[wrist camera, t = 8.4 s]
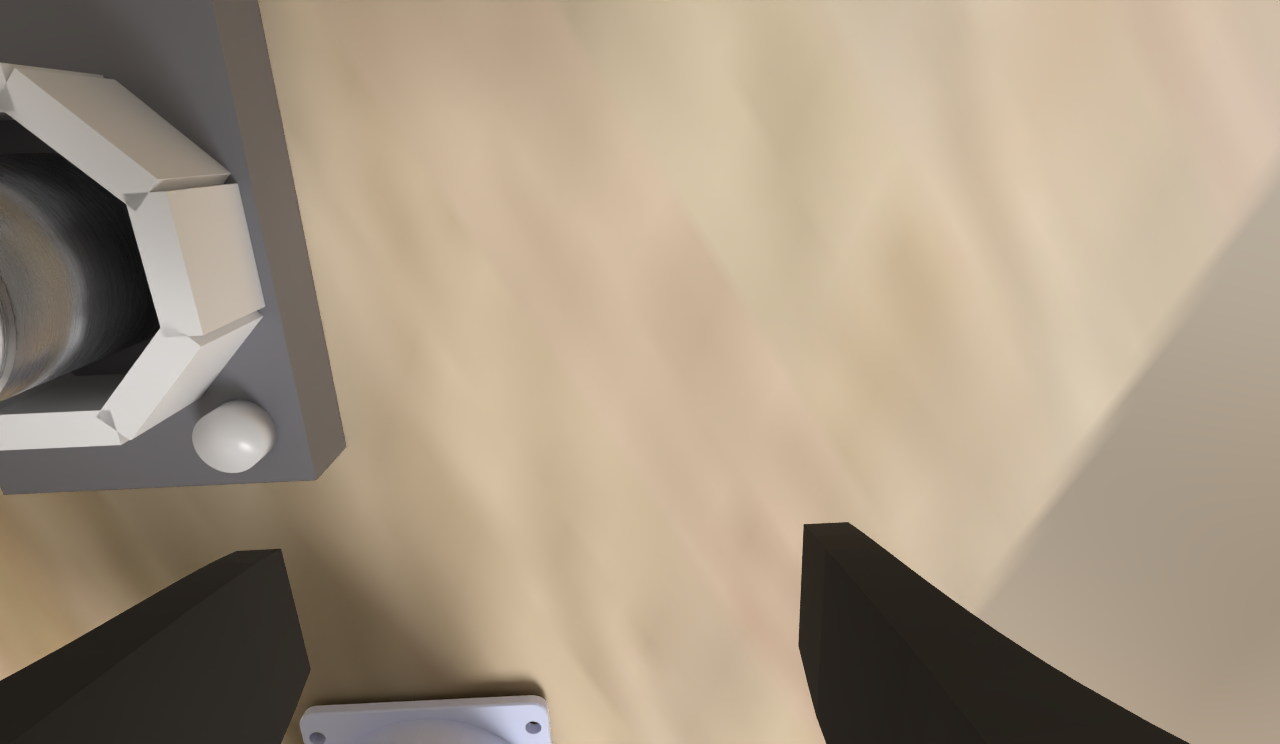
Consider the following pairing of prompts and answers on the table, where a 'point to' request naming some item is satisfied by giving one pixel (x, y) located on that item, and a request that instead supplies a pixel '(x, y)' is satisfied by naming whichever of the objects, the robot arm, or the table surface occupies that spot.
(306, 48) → the table surface
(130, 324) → the lens
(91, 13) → the camera body
